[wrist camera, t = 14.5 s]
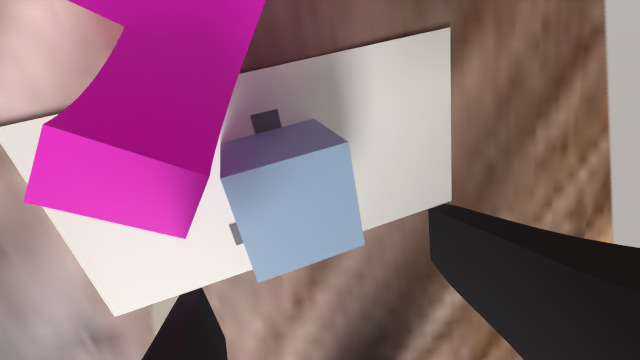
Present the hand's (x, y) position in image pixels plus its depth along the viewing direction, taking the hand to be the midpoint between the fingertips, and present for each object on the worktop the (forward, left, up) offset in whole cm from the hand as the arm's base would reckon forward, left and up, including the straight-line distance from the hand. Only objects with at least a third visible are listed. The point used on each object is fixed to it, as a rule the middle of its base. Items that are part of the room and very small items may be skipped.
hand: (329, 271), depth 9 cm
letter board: (0, 0, -9) cm, 9 cm away
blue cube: (0, 0, -9) cm, 9 cm away
